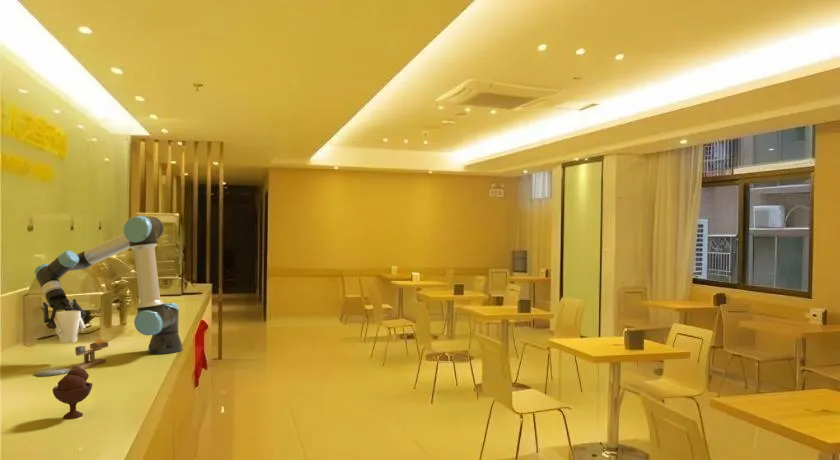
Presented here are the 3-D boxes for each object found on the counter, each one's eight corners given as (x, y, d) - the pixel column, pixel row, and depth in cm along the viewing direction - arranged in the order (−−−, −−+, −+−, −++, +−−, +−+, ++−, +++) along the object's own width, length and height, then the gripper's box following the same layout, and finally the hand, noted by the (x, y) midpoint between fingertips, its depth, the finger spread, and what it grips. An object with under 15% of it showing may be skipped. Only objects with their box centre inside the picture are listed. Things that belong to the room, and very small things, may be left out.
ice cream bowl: (63, 411, 192) (62, 365, 192) (99, 410, 193) (99, 364, 193) (45, 422, 182) (45, 373, 182) (83, 421, 183) (83, 372, 183)
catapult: (108, 361, 264) (108, 340, 264) (81, 370, 248) (81, 348, 248) (98, 361, 265) (98, 340, 265) (71, 369, 249) (71, 347, 249)
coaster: (76, 369, 248) (76, 367, 248) (54, 377, 237) (54, 374, 237) (51, 368, 250) (51, 366, 250) (27, 375, 239) (27, 373, 239)
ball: (104, 345, 263) (104, 338, 263) (99, 347, 260) (99, 339, 260) (98, 345, 264) (98, 338, 264) (93, 346, 260) (93, 339, 260)
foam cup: (69, 344, 256) (68, 313, 256) (50, 343, 258) (50, 313, 258) (85, 339, 265) (85, 310, 265) (68, 339, 267) (67, 310, 267)
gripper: (77, 296, 279) (94, 333, 270) (24, 301, 261) (41, 341, 252) (82, 285, 276) (100, 322, 267) (29, 290, 258) (47, 329, 249)
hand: (72, 331), depth 260 cm, fingers closed on foam cup, 9 cm apart
